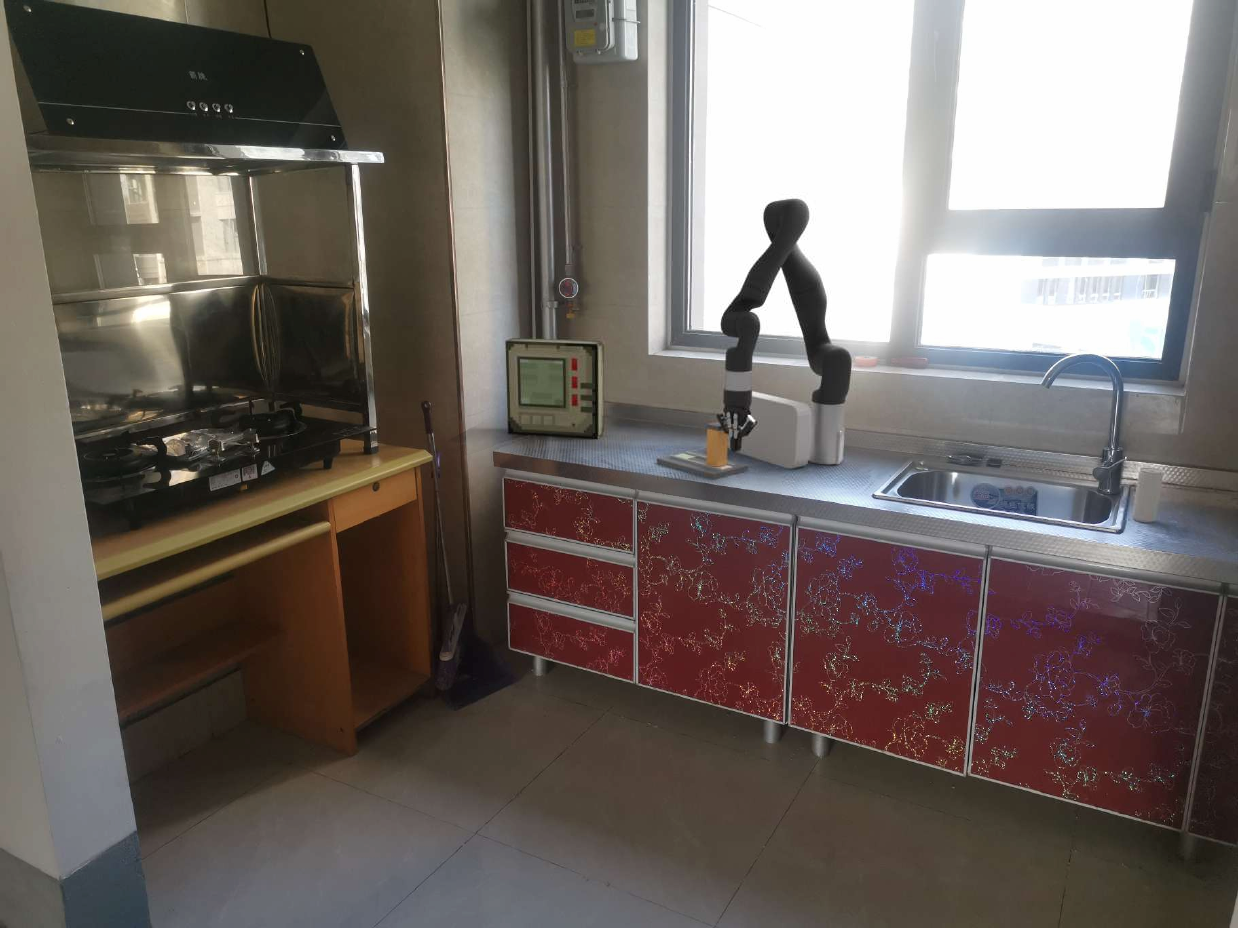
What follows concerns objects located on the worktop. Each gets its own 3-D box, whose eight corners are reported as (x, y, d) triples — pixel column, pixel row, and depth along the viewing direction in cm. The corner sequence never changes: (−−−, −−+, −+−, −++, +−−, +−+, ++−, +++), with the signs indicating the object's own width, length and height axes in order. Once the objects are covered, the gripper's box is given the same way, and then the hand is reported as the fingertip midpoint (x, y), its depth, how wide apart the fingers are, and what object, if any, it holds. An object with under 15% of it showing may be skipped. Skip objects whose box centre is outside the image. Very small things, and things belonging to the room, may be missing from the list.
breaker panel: (656, 463, 259) (656, 456, 258) (691, 455, 268) (691, 448, 267) (713, 479, 243) (713, 472, 242) (748, 470, 252) (748, 463, 251)
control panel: (508, 434, 294) (505, 340, 286) (516, 429, 301) (513, 338, 293) (597, 439, 287) (597, 344, 279) (604, 434, 294) (603, 341, 286)
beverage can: (1147, 516, 214) (1155, 467, 210) (1160, 523, 209) (1168, 472, 206) (1127, 516, 213) (1135, 467, 210) (1139, 523, 209) (1147, 472, 206)
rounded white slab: (814, 467, 256) (818, 404, 251) (794, 470, 252) (798, 406, 247) (746, 446, 279) (749, 388, 274) (727, 449, 275) (729, 390, 270)
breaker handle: (705, 463, 251) (706, 424, 248) (716, 461, 253) (717, 421, 251) (716, 466, 248) (718, 426, 245) (727, 464, 250) (728, 424, 248)
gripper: (766, 389, 237) (763, 453, 242) (728, 382, 247) (726, 444, 252) (747, 392, 233) (744, 458, 237) (709, 385, 242) (707, 448, 247)
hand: (735, 450), depth 244 cm, fingers closed
